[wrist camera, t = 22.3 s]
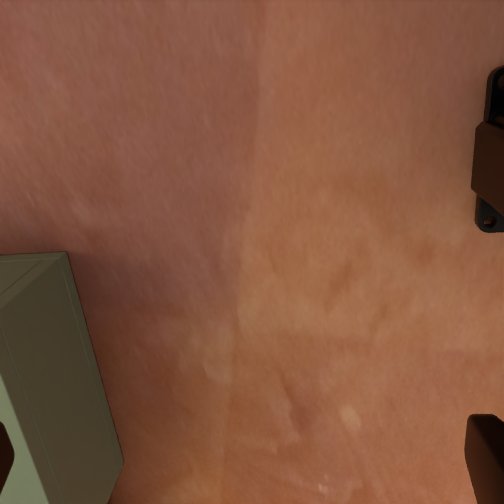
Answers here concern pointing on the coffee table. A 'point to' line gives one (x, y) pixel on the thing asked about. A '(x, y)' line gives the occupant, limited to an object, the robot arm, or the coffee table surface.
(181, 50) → the coffee table surface
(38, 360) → the cabinet
